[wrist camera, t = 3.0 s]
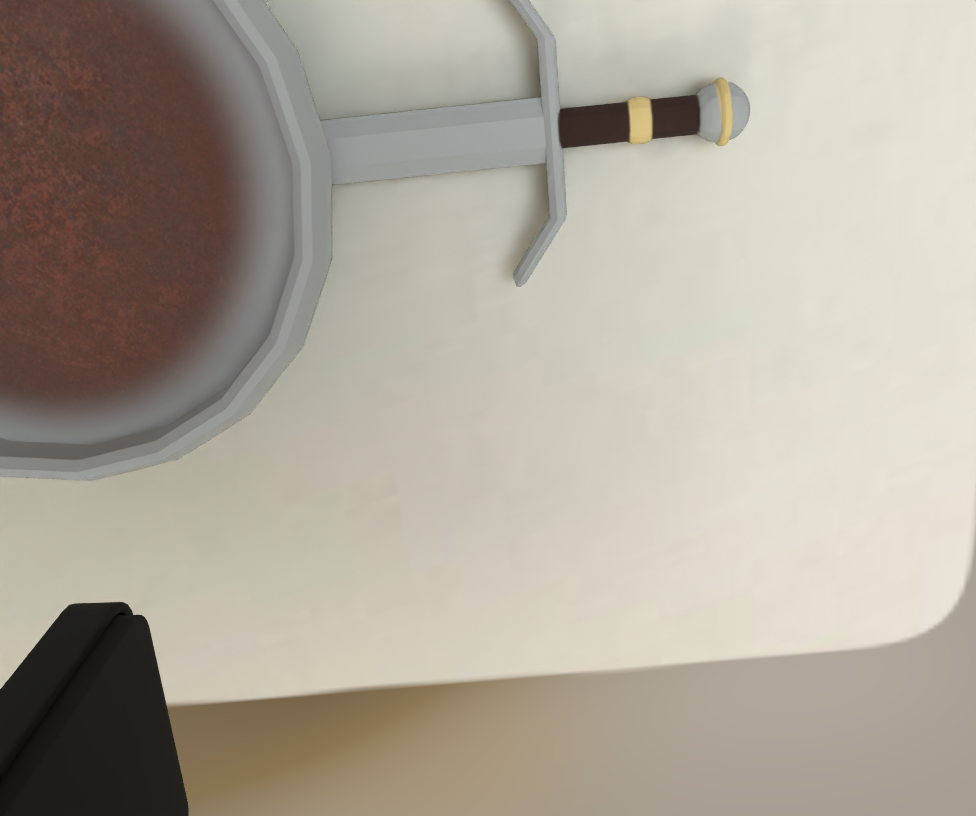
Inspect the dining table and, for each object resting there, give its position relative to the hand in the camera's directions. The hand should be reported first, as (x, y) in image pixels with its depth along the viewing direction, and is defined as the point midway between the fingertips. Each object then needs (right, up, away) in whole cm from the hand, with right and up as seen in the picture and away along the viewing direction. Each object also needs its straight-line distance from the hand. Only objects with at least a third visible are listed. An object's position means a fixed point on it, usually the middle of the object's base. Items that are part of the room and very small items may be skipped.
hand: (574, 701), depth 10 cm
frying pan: (-8, +10, +16) cm, 20 cm away
